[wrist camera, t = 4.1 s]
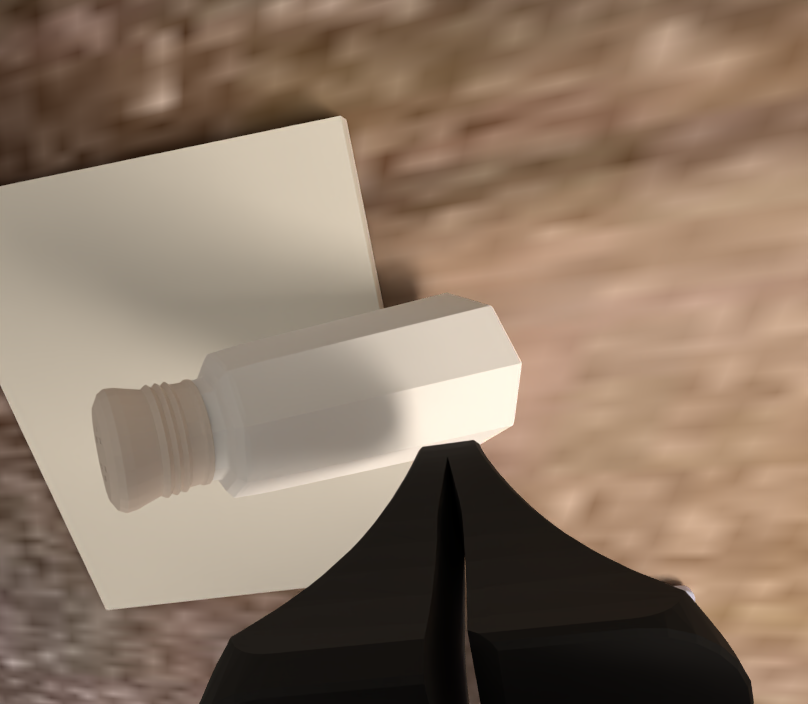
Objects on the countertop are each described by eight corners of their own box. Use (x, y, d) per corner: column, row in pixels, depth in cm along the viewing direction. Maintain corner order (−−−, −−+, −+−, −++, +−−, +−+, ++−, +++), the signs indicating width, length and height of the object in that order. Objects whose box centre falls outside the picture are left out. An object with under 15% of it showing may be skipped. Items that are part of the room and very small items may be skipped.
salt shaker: (405, 306, 20) (73, 346, 13) (508, 274, 15) (86, 312, 9) (430, 442, 20) (110, 549, 13) (540, 450, 15) (143, 613, 9)
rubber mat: (432, 553, 23) (433, 573, 21) (121, 589, 24) (106, 609, 23) (346, 119, 17) (340, 115, 16) (-54, 202, 18) (-86, 203, 17)
